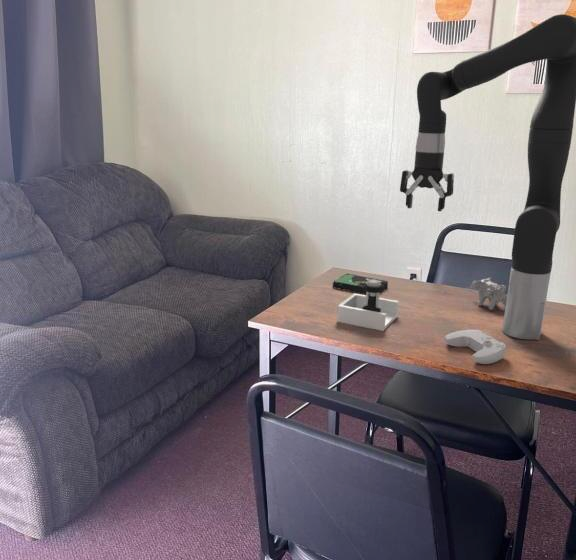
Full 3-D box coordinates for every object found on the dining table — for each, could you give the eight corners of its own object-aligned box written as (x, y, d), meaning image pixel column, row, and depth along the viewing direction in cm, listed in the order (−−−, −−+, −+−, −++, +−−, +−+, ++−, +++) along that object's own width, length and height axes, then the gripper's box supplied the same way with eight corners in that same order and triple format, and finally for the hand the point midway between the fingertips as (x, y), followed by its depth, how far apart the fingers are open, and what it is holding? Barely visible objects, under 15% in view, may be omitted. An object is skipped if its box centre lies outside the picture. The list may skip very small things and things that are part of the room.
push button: (353, 316, 151) (356, 281, 148) (361, 310, 156) (363, 276, 153) (377, 321, 148) (379, 285, 145) (384, 315, 153) (386, 280, 150)
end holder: (397, 316, 155) (398, 301, 154) (383, 331, 145) (384, 314, 143) (353, 308, 161) (354, 293, 159) (337, 321, 151) (337, 305, 149)
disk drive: (387, 289, 180) (345, 280, 187) (388, 281, 179) (346, 272, 186) (375, 298, 172) (331, 288, 179) (375, 289, 171) (332, 280, 178)
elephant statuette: (499, 313, 159) (502, 288, 157) (459, 304, 166) (461, 279, 164) (510, 305, 166) (514, 280, 163) (471, 296, 173) (474, 272, 171)
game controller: (440, 332, 137) (473, 320, 140) (441, 348, 139) (474, 335, 141) (479, 356, 124) (515, 342, 127) (480, 373, 126) (515, 359, 129)
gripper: (459, 150, 152) (453, 210, 157) (408, 148, 158) (403, 205, 163) (453, 152, 146) (447, 214, 151) (400, 149, 152) (395, 208, 157)
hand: (424, 209), depth 157 cm, fingers open, 8 cm apart
